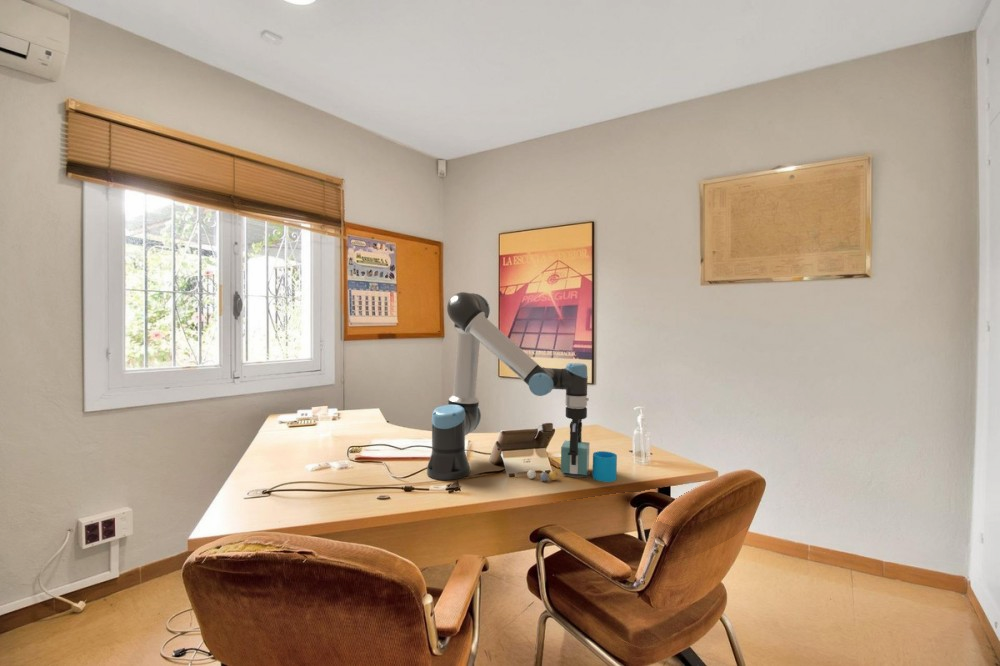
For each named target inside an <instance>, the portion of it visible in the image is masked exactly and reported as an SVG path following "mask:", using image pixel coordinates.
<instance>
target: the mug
mask: <svg viewBox="0 0 1000 666" xmlns="http://www.w3.org/2000/svg"><path fill="white" fill-rule="evenodd" d="M617 461H618V455H617V454H616V453H614V452H612V451H611V452H610V451H604V450H603V451H602V450H601V451H599V450H598V451H595V452H593V453H592V479H593V480H595V479H596V480H595V481H599V482H602V481H604V482H605V483H612V482H616V480H617V477H618V476H617V474H618V473H617V471H618V470H617V468H618V462H617ZM604 482H603V483H604Z"/></svg>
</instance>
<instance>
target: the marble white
mask: <svg viewBox="0 0 1000 666" xmlns="http://www.w3.org/2000/svg"><path fill="white" fill-rule="evenodd" d="M526 476H527V478H528V479H535V478H536V476H537V474H536V471H535V470H534V469H529V470H528V471H527V473H526Z"/></svg>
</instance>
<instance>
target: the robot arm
mask: <svg viewBox="0 0 1000 666" xmlns="http://www.w3.org/2000/svg"><path fill="white" fill-rule="evenodd" d="M446 310H447V311H446V312H447V314H448V317H449V319H450V320H451V321H452V322H453V323H454V326H453V327H454V329H455V331H457V338H456V339H457V340H456V342H457V343H456V351H455V353H456V354H455V356H456V357H455V366H454V378H453V379H454V380H453V389H452V391H453V392H452V395H451V396H449V397H448V401H447V403H448V404H444V405H440V406H438V407H435V409H434V410H432V414H431V455H430V457H429V461H428V464H427V467H426V475H427V476H428V477H430V478H432V479H436V480H441V481H442V480H443V481H445V480H446V481H448V480H449V481H450V480H451V481H452V480H458V479H463V478H466V477H467V476H468V475H469V474H470V471H471V469H470V463H469V460H468V457H467V454H466V448H465V447H466V446H465V445H466V436H468V435H469V434H470V433H472V432H474V431H475V430H476V429H477V427H478V426H479V424H480V423H481V419H482V414H481V413H482V412H481V410H480V408H479V405H480V404H479V403H480V401H479V398H477V396H476V392H477V391H476V390H477V380H478V379H477V378H478V367H479V356H480V353H479V352H480V345H481V344H482V345H483V346H484V347H485V348H486V349H487V350H489V351H490V352H491V353H492V354H493V355H494V356H495V357H496V358H497V359H499V361H501V362H502V363H503V364H504V365H505V366H507V368H508V369H510V370H511V372H513V373H514V375H516V376H517V377H518V378H519V379H521V380H522V381H523V382H524V383H525V384H527V386H528V388H529V390H530V391H529V392H531V393H532V394H533V395H535V396H536V397H543V396H546V395H548V394H550V393H551V392H552V391H553V390H565V406H566V407H565V417H566V418H567V419H571V421H570V423H569V441H570V452H569V453H568V455H570V473H572V474H578V442H583V441H582V429H583V422H582V421H583V420H585V419H586V418H588V408H587V406H588V401H589V397H588V365H586V364H585V363H580V362H570V363H566V366H565V368H553V367H544V366H543V367H542V366H541V365H540V364H539V363H537V362H536V361H535V360H534V359H533V358H531V356H529V355H528V353H526V352H525V351H524V350H523V349H521V347H519V346H518V345H517V344H516V343H515V342H513V341H512V340H511V339H510V337H508V336H507V335H506V334H505V333H503V331H501V330H500V329H499V328H498V327H497V326H495V324H493V323H492V322H491V321H490V320H489V319H488V318H489V316H490V313H491V312H490V311H491V309H490V304H489V302H488V300H487V299H486V298H485V297H483V296H482V295H480V294H478V293H474V292H473V293H472V292H471V293H470V292H466V291H463V292H458V293H455V294H453V295H452V296H451V297H450V299H449V300H448V302H447V305H446ZM573 451H575V452H573Z"/></svg>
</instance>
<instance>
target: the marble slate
mask: <svg viewBox="0 0 1000 666" xmlns="http://www.w3.org/2000/svg"><path fill="white" fill-rule="evenodd" d="M539 479H540V481H542V482H547V481H548V480H549V479H550V478H549V473H547V472H543V471H542V472H541V473H540V475H539Z"/></svg>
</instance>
